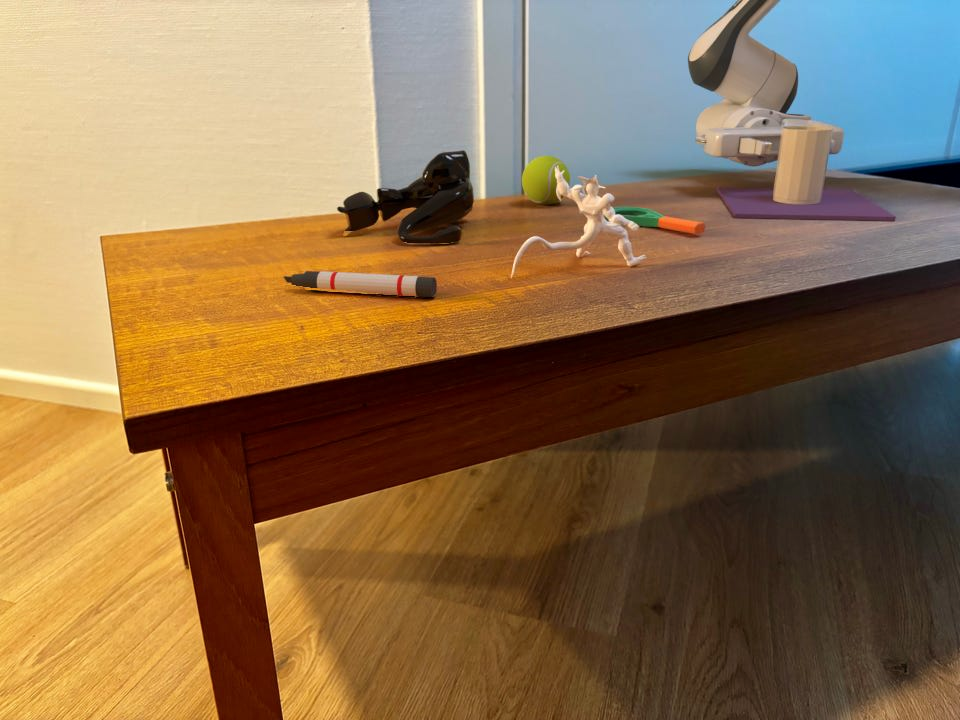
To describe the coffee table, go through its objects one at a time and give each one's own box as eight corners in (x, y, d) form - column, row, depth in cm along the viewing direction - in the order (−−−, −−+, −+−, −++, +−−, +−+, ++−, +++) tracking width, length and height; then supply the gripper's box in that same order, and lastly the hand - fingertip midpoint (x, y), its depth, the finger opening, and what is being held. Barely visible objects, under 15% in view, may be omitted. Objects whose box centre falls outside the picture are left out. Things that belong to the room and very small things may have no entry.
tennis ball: (578, 203, 109) (580, 155, 107) (550, 211, 104) (551, 160, 102) (540, 198, 114) (541, 151, 111) (512, 205, 109) (512, 156, 106)
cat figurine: (507, 255, 92) (371, 298, 88) (463, 205, 102) (339, 240, 97) (504, 185, 86) (357, 227, 81) (458, 138, 95) (324, 173, 90)
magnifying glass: (594, 219, 99) (595, 206, 98) (626, 213, 102) (627, 201, 101) (682, 240, 87) (684, 226, 87) (715, 233, 91) (717, 219, 90)
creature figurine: (659, 244, 79) (633, 154, 70) (635, 324, 73) (605, 235, 65) (561, 248, 84) (526, 165, 76) (532, 322, 79) (491, 240, 70)
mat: (850, 193, 113) (851, 189, 113) (895, 221, 95) (896, 216, 95) (716, 191, 117) (716, 187, 116) (734, 218, 98) (735, 213, 98)
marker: (437, 294, 70) (436, 274, 69) (431, 301, 68) (430, 280, 67) (289, 286, 73) (287, 267, 72) (280, 292, 71) (277, 272, 71)
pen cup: (814, 196, 108) (826, 125, 104) (825, 205, 102) (838, 130, 98) (768, 195, 109) (778, 125, 105) (777, 204, 103) (787, 130, 99)
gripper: (692, 117, 115) (730, 126, 102) (816, 114, 117) (868, 122, 104) (688, 159, 117) (725, 172, 105) (810, 155, 119) (860, 168, 107)
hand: (798, 147), depth 104 cm, fingers open, 8 cm apart
